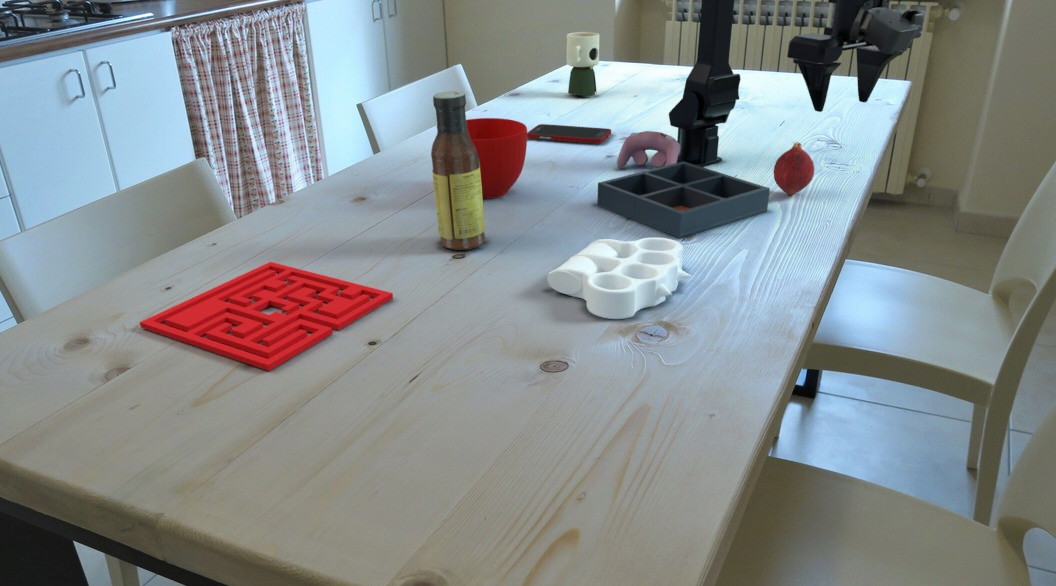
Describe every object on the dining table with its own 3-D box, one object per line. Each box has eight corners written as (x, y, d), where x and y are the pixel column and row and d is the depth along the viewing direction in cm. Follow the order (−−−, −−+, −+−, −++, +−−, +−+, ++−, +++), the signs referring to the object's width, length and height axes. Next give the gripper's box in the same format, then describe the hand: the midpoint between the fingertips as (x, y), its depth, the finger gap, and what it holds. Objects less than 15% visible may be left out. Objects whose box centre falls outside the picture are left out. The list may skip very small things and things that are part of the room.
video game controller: (677, 178, 147) (685, 136, 147) (671, 173, 143) (679, 130, 143) (621, 172, 151) (628, 131, 151) (613, 167, 147) (621, 125, 146)
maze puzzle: (269, 370, 90) (268, 365, 89) (141, 327, 99) (139, 322, 99) (393, 298, 104) (392, 293, 104) (271, 266, 114) (270, 261, 113)
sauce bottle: (492, 238, 121) (486, 89, 112) (475, 254, 116) (468, 100, 106) (448, 233, 123) (438, 87, 113) (429, 249, 118) (418, 98, 108)
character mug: (590, 102, 191) (592, 38, 185) (559, 100, 194) (559, 37, 187) (604, 91, 200) (605, 30, 194) (574, 89, 202) (574, 29, 196)
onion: (812, 202, 131) (819, 148, 127) (771, 200, 132) (778, 147, 128) (808, 190, 136) (816, 138, 132) (769, 188, 137) (776, 137, 133)
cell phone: (601, 144, 161) (601, 139, 160) (525, 138, 165) (525, 133, 165) (612, 134, 167) (612, 128, 166) (539, 128, 172) (539, 123, 171)
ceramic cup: (409, 200, 136) (404, 135, 131) (486, 174, 147) (483, 113, 142) (468, 218, 128) (465, 150, 123) (545, 189, 139) (544, 126, 134)
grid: (597, 205, 132) (597, 182, 130) (681, 182, 140) (683, 161, 139) (679, 238, 119) (681, 213, 118) (767, 211, 128) (770, 188, 126)
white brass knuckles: (602, 250, 116) (708, 271, 109) (533, 301, 103) (649, 329, 96) (602, 226, 114) (711, 246, 108) (532, 275, 101) (651, 301, 94)
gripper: (863, -1, 106) (842, 128, 114) (959, -14, 115) (933, 107, 122) (792, -10, 115) (777, 112, 122) (886, -21, 123) (866, 93, 131)
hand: (841, 106), depth 124 cm, fingers open, 9 cm apart
